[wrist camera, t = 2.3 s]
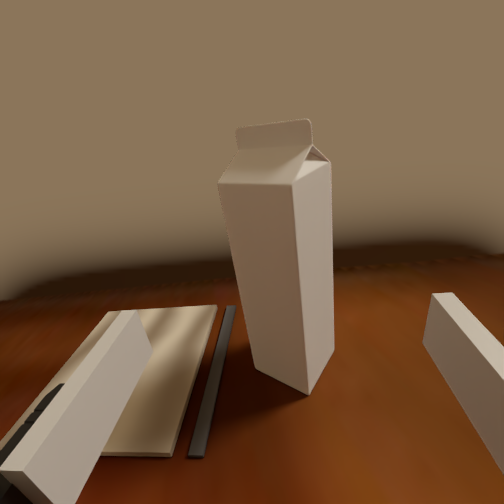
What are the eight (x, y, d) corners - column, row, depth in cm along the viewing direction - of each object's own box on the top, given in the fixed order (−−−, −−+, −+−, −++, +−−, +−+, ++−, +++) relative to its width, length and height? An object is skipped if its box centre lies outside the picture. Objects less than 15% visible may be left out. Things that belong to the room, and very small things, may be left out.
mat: (236, 307, 37) (235, 303, 37) (203, 457, 21) (201, 453, 21) (110, 315, 40) (108, 311, 39) (-3, 453, 24) (-7, 449, 24)
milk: (284, 331, 32) (258, 122, 22) (335, 351, 28) (331, 112, 19) (253, 370, 28) (205, 133, 18) (309, 398, 24) (286, 123, 14)
